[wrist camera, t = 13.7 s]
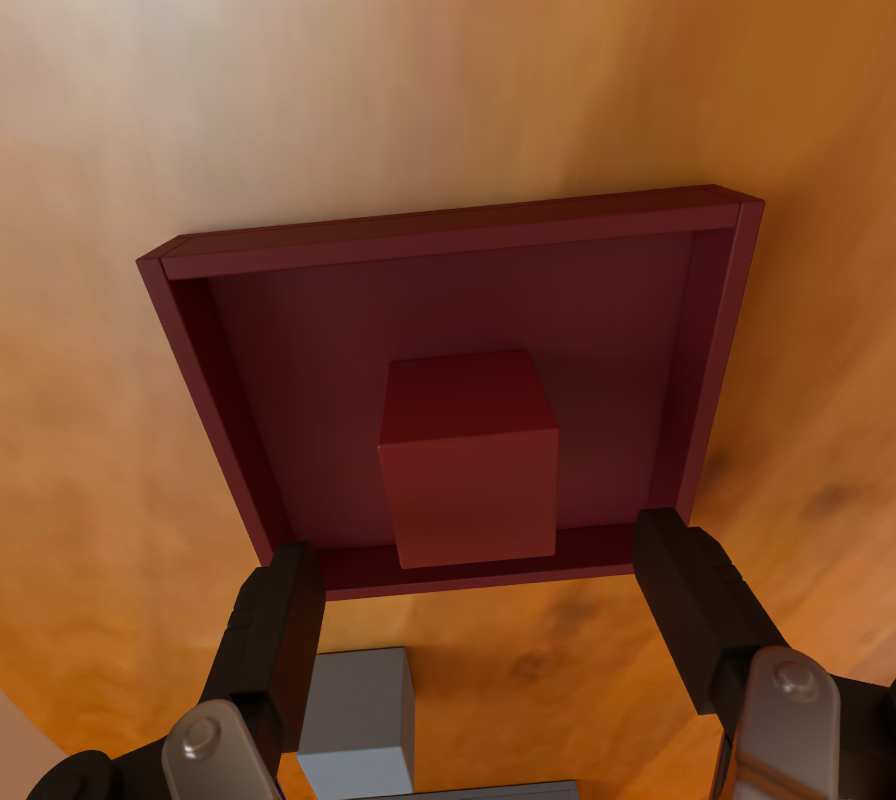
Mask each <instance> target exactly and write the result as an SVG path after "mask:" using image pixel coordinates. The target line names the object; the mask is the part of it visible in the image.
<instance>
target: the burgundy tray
mask: <svg viewBox="0 0 896 800" xmlns="http://www.w3.org/2000/svg"><path fill="white" fill-rule="evenodd" d="M764 207H765V200H763V199H760V198H756V197H753V196H750V195H747V194H744V193H740V192H737V191H734V190H731V189H727V188H724V187H721V186H718V185H715V184H711V185H700V186H690V187H679V188H669V189H658V190H648V191H637V192H627V193H616V194H606V195H595V196H585V197H574V198H564V199H553V200H543V201H532V202H522V203H511V204H501V205H490V206H480V207H469V208H459V209H448V210H438V211H427V212H417V213H406V214H396V215H386V216H375V217H365V218H354V219H344V220H333V221H323V222H312V223H302V224H291V225H281V226H270V227H260V228H249V229H239V230H228V231H218V232H207V233H197V234H186V235H178V236H177V237H175V238H173V239H172V240H169V241H168V242H166V243H164V244H162V245H161V246H159V247H157V248H156V249H154V250H152V251H150V252H149V253H147V254H145V255H143V256H142V257H140V258H138V259H137V260H136V264H137V266H138V269H139V271H140V274H141V276H142V279H143V281H144V283H145V286H146V288H147V291H148V293H149V295H150V298H151V300H152V303H153V305H154V308H155V310H156V312H157V315H158V317H159V320H160V322H161V324H162V327H163V329H164V332H165V334H166V336H167V339H168V341H169V344H170V346H171V349H172V351H173V353H174V356H175V358H176V361H177V363H178V365H179V368H180V370H181V373H182V375H183V378H184V380H185V382H186V385H187V387H188V390H189V392H190V394H191V397H192V399H193V402H194V404H195V407H196V409H197V411H198V414H199V416H200V419H201V421H202V423H203V426H204V428H205V431H206V433H207V435H208V438H209V440H210V443H211V445H212V448H213V450H214V452H215V455H216V457H217V460H218V462H219V464H220V467H221V469H222V472H223V474H224V477H225V479H226V481H227V484H228V486H229V489H230V491H231V493H232V496H233V498H234V501H235V503H236V506H237V508H238V510H239V513H240V515H241V518H242V520H243V522H244V525H245V527H246V530H247V532H248V534H249V537H250V539H251V542H252V544H253V547H254V549H255V551H256V554H257V556H258V559H259V561H260V563H261V566H262V567H268V566H270V563H271V560H272V557H273V554H274V551H275V548H276V546H277V544H278V543H283V542H294V541H304V540H310V541H311V542H312V544H313V546H314V550H315V553H316V556H317V559H318V562H319V566H320V569H321V572H322V575H323V578H324V582H325V590H326V601H337V600H348V599H359V598H371V597H382V596H393V595H404V594H415V593H426V592H437V591H448V590H459V589H470V588H482V587H493V586H504V585H515V584H526V583H537V582H548V581H559V580H570V579H582V578H593V577H604V576H615V575H626V574H635V573H634V570H633V565H632V546H633V540H634V534H635V528H636V521H637V515H638V512H639V510H641V509H652V508H662V507H673V508H674V509H675V510H676V511H677V512H678V514H679V515H680V517H681V518H682V520H683V522H684V523H685V525H686V526H687V528H688V525H689V521H690V516H691V512H692V508H693V504H694V500H695V496H696V491H697V487H698V483H699V479H700V475H701V470H702V466H703V462H704V458H705V454H706V449H707V445H708V441H709V437H710V433H711V429H712V424H713V420H714V416H715V412H716V408H717V403H718V399H719V395H720V391H721V387H722V383H723V378H724V374H725V370H726V366H727V362H728V357H729V353H730V349H731V345H732V341H733V336H734V332H735V328H736V324H737V320H738V316H739V311H740V307H741V303H742V299H743V295H744V290H745V286H746V282H747V278H748V274H749V269H750V265H751V261H752V257H753V253H754V249H755V244H756V240H757V236H758V232H759V228H760V223H761V219H762V215H763V211H764ZM517 350H528V352H529V354H530V357H531V359H532V362H533V364H534V366H535V369H536V371H537V374H538V376H539V379H540V381H541V384H542V386H543V388H544V391H545V393H546V396H547V398H548V401H549V403H550V406H551V408H552V410H553V413H554V415H555V418H556V420H557V423H558V425H559V428H560V430H561V432H560V455H559V478H558V501H557V524H556V546H555V554H554V555H551V556H540V557H529V558H518V559H507V560H496V561H485V562H474V563H463V564H452V565H441V566H430V567H419V568H408V569H403V568H401V566H400V561H399V555H398V550H397V545H396V540H395V535H394V530H393V525H392V520H391V515H390V510H389V505H388V500H387V495H386V490H385V485H384V479H383V474H382V469H381V464H380V459H379V454H378V449H377V444H378V437H379V429H380V421H381V414H382V406H383V398H384V391H385V383H386V375H387V368H388V363H390V362H400V361H411V360H421V359H432V358H443V357H453V356H464V355H475V354H485V353H496V352H507V351H517ZM326 601H325V602H326Z"/></svg>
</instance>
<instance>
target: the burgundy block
mask: <svg viewBox="0 0 896 800" xmlns="http://www.w3.org/2000/svg"><path fill="white" fill-rule="evenodd" d="M560 432H561V430H560V428H559V425H558V423H557V420H556V418H555V415H554V413H553V410H552V408H551V406H550V403H549V401H548V398H547V396H546V393H545V391H544V388H543V386H542V384H541V381H540V379H539V376H538V374H537V371H536V369H535V366H534V364H533V362H532V359H531V357H530V354H529V352H528V350H517V351H507V352H496V353H485V354H475V355H464V356H453V357H443V358H432V359H421V360H411V361H400V362H390V363H388V368H387V375H386V383H385V391H384V398H383V406H382V414H381V421H380V429H379V437H378V444H377V449H378V454H379V459H380V464H381V469H382V474H383V479H384V485H385V490H386V495H387V500H388V505H389V510H390V515H391V520H392V525H393V530H394V535H395V540H396V545H397V550H398V555H399V561H400V566H401V568H403V569H408V568H419V567H430V566H441V565H452V564H463V563H474V562H485V561H496V560H507V559H518V558H529V557H540V556H551V555H554V554H555V546H556V524H557V501H558V478H559V455H560Z"/></svg>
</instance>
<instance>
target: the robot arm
mask: <svg viewBox="0 0 896 800" xmlns="http://www.w3.org/2000/svg"><path fill="white" fill-rule="evenodd" d="M632 565H633V570H634V573H635V576H636V579H637V581H638V583H639V586H640V588H641V590H642V592H643V594H644V597H645V599H646V601H647V603H648V605H649V608H650V610H651V612H652V614H653V616H654V619H655V621H656V623H657V625H658V627H659V630H660V632H661V634H662V636H663V638H664V641H665V643H666V645H667V647H668V649H669V652H670V654H671V656H672V658H673V660H674V663H675V665H676V667H677V669H678V671H679V674H680V676H681V678H682V680H683V682H684V685H685V687H686V689H687V691H688V693H689V696H690V698H691V700H692V702H693V704H694V707H695V709H696V711H697V713H698V715H705V714H716V713H717V715H718V718H719V720H720V722H721V724H722V726H723V728H724V730H723V733H722V736H721V741H720V746H719V751H718V756H717V761H716V766H715V771H714V776H713V781H712V786H711V791H710V796H709V800H838V796H839V797H843V798H847V799H850V800H896V679H895V680H894V682H893V683H892V685H891V686H890V688H889V687H885V686H880V685H875V684H870V683H866V682H861V681H856V680H852V679H847V678H842V677H839V676H835V675H832V674H830V673H828V672H827V671H826V670H825V669H824V668H823V667H822V666H821V665H820V664H819V663H817V662H816V661H815V660H813V659H812V658H810V657H809V656H807V655H805V654H803V653H801V652H799V651H797V650H794V649H792V648H791V647H790V646H789V645H788V643H787V642H786V641H785V639H784V638H783V636H782V635H781V633H780V632H779V630H778V629H777V628H776V626H775V625H774V623H773V622H772V620H771V619H770V617H769V616H768V614H767V613H766V611H765V610H764V608H763V607H762V605H761V604H760V602H759V601H758V600H757V598H756V597H755V595H754V594H753V592H752V591H751V589H750V588H749V586H748V585H747V583H746V582H745V581H743V580H742V576H741V574H740V573H739V572H738V570H737V569H736V567H735V566H734V565H732V561H731V560H730V558H729V557H728V555H727V554H726V552H725V551H724V549H723V548H722V546H721V545H720V543H719V542H718V541H716V540H715V539H714V538H713V537H711V536H710V535H709V534H708V533H706V532H705V531H704V530H703V529H701V528H700V527H689V528H687V526H686V525H685V523H684V522H683V520H682V518H681V517H680V515H679V514H678V512H677V511H676V510H675V509H674V508H673V507H662V508H652V509H641V510H639V512H638V515H637V521H636V528H635V534H634V540H633V546H632ZM325 601H326V590H325V582H324V578H323V575H322V572H321V569H320V566H319V562H318V559H317V556H316V553H315V550H314V546H313V544H312V542H311V541H310V540H304V541H294V542H283V543H278V544H277V546H276V548H275V551H274V554H273V557H272V560H271V563H270V566H268V567H257V568H256V569H255V570H254V571H253V573H252V574H251V575H250V576H249V578H248V579H247V580H246V581H245V582H244V584H243V585H242V586H241V588H240V591H239V594H238V597H237V599H236V602H235V605H234V611H233V612H232V613H231V616H230V619H229V621H228V624H227V626H228V627H227V629H226V630H225V632H224V635H223V638H222V641H221V643H220V646H219V649H218V652H217V654H216V657H215V660H214V662H213V665H212V668H211V671H210V673H209V676H208V679H207V682H206V684H205V687H204V690H203V693H202V695H201V697H200V700H199V702H198V703H197V705H196V706H195V707H194V708H192V709H191V710H189V711H188V712H187V713H185V714H184V715H183V716H182V717H181V718H180V719H179V720H178V721H177V723H176V724H175V725H174V726H173V728H172V729H171V731H170V732H169V734H168V735H166V736H165V737H163V738H161V739H159V740H157V741H155V742H153V743H151V744H148V745H146V746H144V747H141V748H139V749H136V750H134V751H132V752H129V753H127V754H125V755H122V756H120V757H118V758H115V759H113V760H111V759H110V758H109V757H108V756H107V755H106V754H105V753H103V752H101V751H97V750H87V751H83V752H79V753H77V754H74V755H72V756H70V757H68V758H66V759H64V760H63V761H61V762H60V763H59V764H57V765H56V766H55V767H53V768H52V769H51V770H50V771H49V772H48V773H47V774H45V775H44V776H43V778H41V780H40V781H39V782H38V783H37V784H36V785H35V787H34V788H33V790H32V791H31V792H30V794H29V796H28V797H27V799H26V800H287V798H286V796H285V794H284V792H283V790H282V788H281V785H280V783H279V781H278V779H277V772H278V768H279V763H280V758H281V753H289V752H298V750H299V744H300V739H301V733H302V728H303V723H304V717H305V712H306V706H307V701H308V696H309V690H310V685H311V679H312V674H313V669H314V663H315V658H316V652H317V647H318V642H319V636H320V631H321V625H322V620H323V615H324V609H325Z"/></svg>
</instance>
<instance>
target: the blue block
mask: <svg viewBox="0 0 896 800" xmlns="http://www.w3.org/2000/svg"><path fill="white" fill-rule="evenodd" d="M414 755H415V692H414V688H413V683H412V678H411V674H410V669H409V665H408V660H407V655H406V651H405V648H404V647H401V648H389V649H378V650H367V651H356V652H345V653H333V654H322V655H316V658H315V663H314V669H313V674H312V679H311V685H310V690H309V696H308V701H307V706H306V712H305V717H304V723H303V728H302V733H301V739H300V744H299V750H298V752H297V753H296V758H297V759H298V761H299V763H300V765H301V767H302V769H303V771H304V773H305V775H306V777H307V779H308V781H309V783H310V785H311V787H312V789H313V791H314V793H315V795H316V797H317V798H318V800H341V799H352V798H364V797H375V796H387V795H398V794H410V793H413V792H414Z"/></svg>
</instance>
